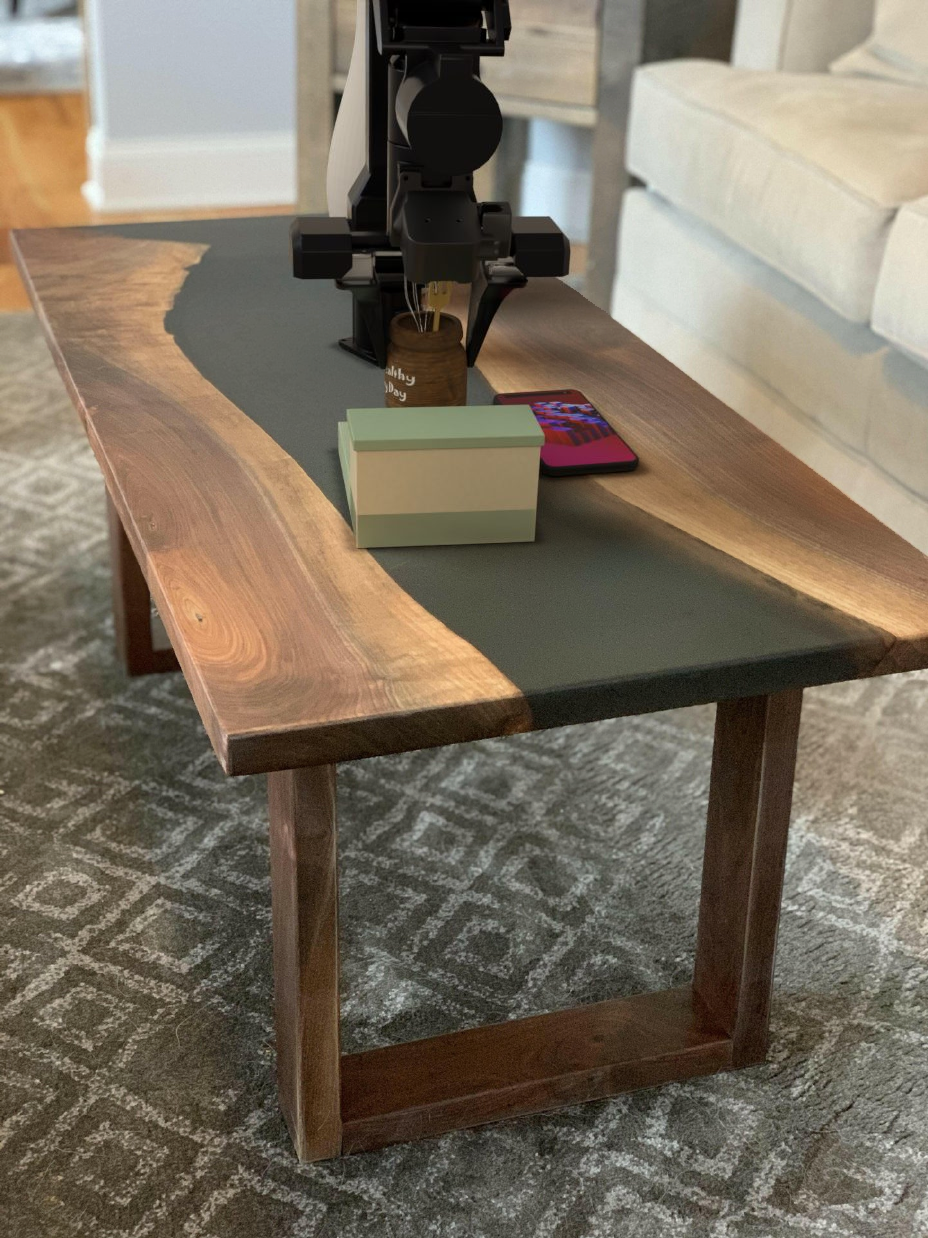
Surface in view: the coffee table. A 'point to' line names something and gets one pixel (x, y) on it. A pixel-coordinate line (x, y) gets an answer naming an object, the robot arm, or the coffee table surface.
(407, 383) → the utensil holder
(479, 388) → the coffee table surface
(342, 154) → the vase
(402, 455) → the beige rectangular box
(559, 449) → the smartphone
